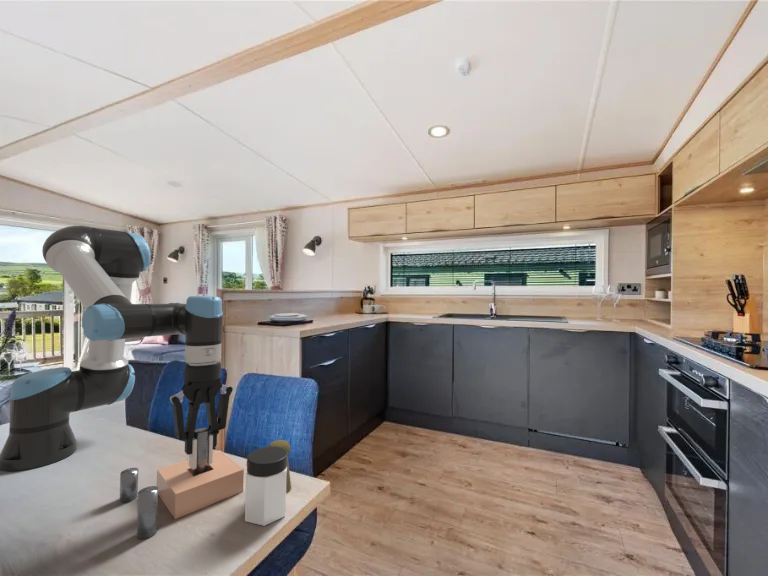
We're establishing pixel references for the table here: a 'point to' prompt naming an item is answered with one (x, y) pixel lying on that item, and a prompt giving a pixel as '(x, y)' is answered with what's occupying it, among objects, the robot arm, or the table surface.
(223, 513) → the table surface
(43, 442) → the robot arm
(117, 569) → the table surface
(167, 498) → the socket block
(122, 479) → the short pin
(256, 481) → the jar
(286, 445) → the olive pawn
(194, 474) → the long pin
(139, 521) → the medium pin
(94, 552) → the table surface
